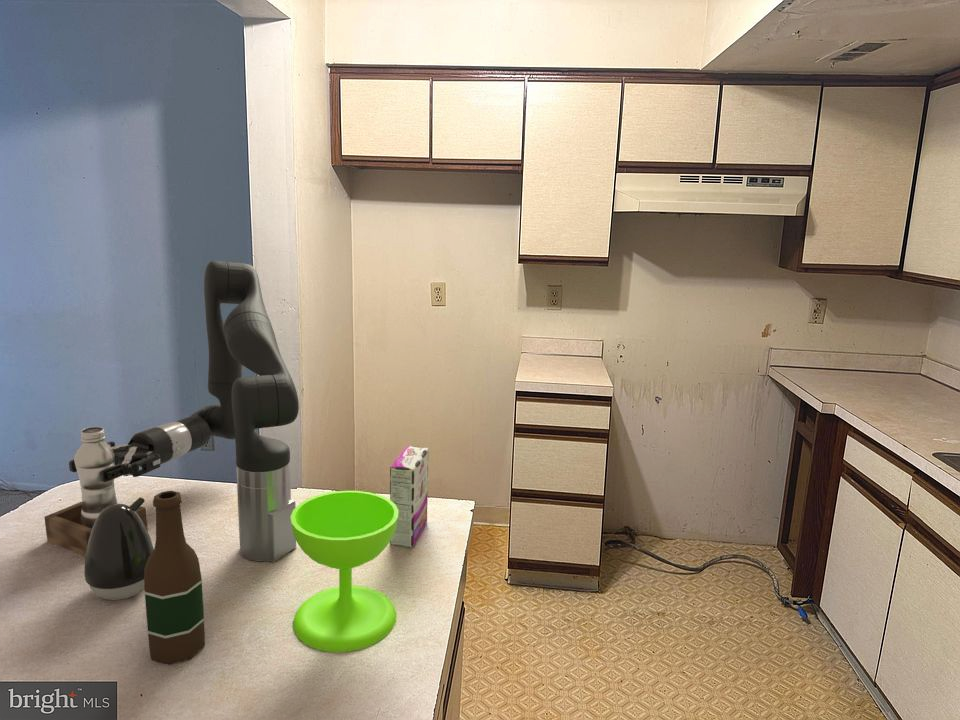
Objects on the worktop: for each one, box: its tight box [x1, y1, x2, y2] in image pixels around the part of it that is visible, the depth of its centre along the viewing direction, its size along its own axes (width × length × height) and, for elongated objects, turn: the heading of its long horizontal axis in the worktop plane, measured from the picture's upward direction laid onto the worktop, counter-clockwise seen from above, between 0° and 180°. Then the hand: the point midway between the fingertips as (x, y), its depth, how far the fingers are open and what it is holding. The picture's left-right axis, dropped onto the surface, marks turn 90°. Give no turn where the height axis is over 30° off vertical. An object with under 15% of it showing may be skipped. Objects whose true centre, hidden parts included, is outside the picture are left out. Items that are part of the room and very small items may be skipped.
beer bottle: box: [143, 490, 206, 666], centre depth 91 cm, size 8×8×24 cm
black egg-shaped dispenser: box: [83, 496, 155, 601], centre depth 104 cm, size 10×10×15 cm
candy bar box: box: [389, 445, 429, 548], centre depth 127 cm, size 11×5×16 cm, turn 170°
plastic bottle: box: [73, 426, 119, 528], centre depth 120 cm, size 6×7×20 cm
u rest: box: [43, 501, 149, 556], centre depth 121 cm, size 12×11×5 cm
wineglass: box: [291, 490, 399, 653], centre depth 100 cm, size 16×16×18 cm
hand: (86, 472), depth 118 cm, fingers open, 8 cm apart
